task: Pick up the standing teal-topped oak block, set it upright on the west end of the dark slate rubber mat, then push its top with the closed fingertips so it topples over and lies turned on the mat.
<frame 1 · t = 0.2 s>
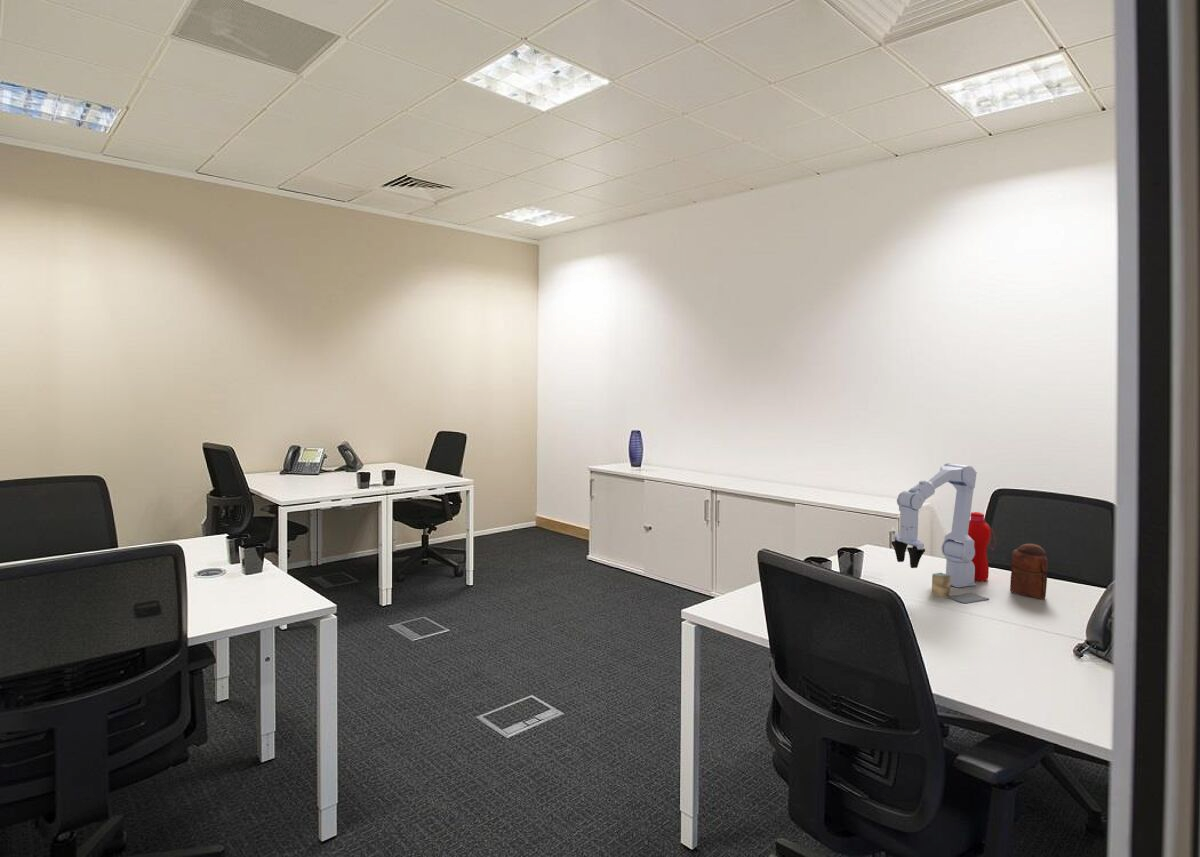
hand: (907, 564, 235), 10 cm above the table, fingers open, 7 cm apart
oak block: (940, 594, 234), on the table
water bottle: (976, 579, 254), on the table
slate mat: (967, 598, 230), on the table
brown upright rounded block: (1028, 595, 235), on the table
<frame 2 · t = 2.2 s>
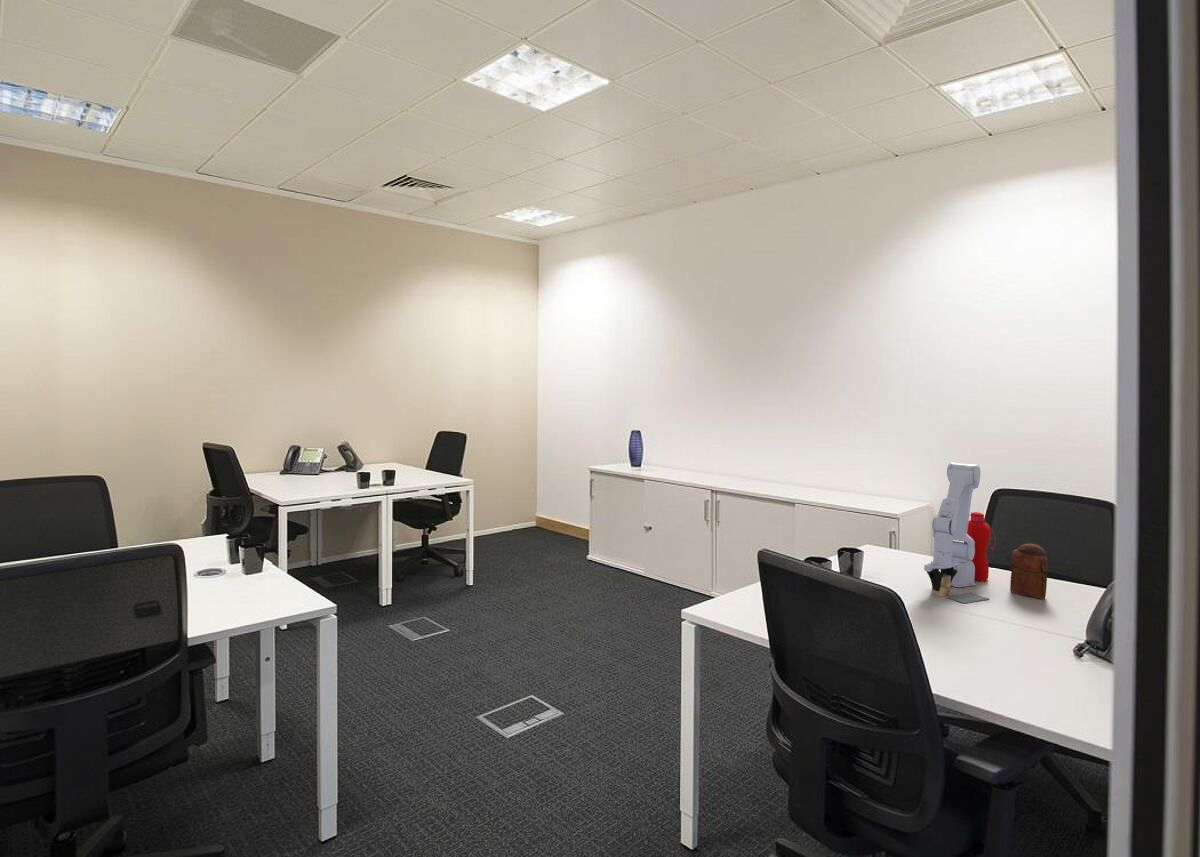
hand: (940, 589, 234), 2 cm above the table, fingers closed on oak block, 4 cm apart
oak block: (940, 594, 234), on the table, touching gripper
everything else where it was.
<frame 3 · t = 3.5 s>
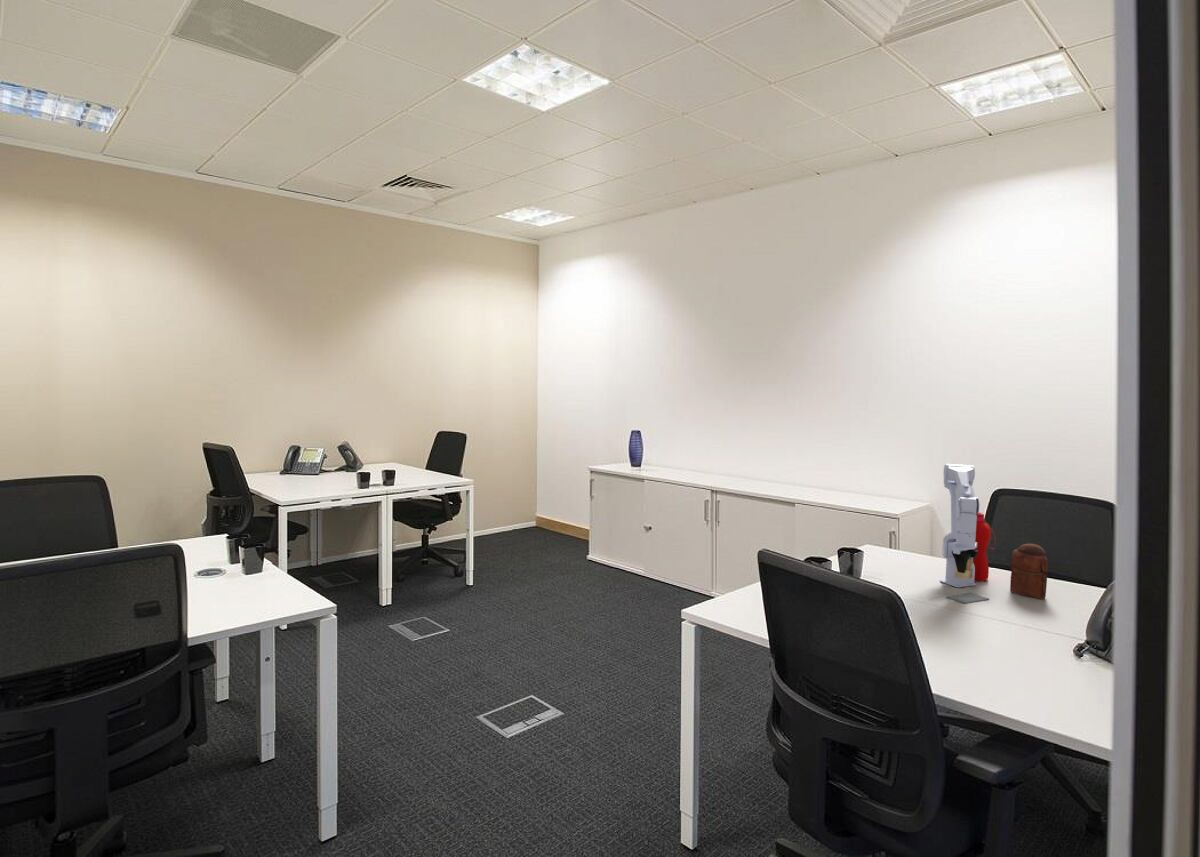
hand: (964, 571, 231), 9 cm above the table, fingers closed on oak block, 4 cm apart
oak block: (963, 577, 232), point 7 cm above the table, touching gripper
everything else where it was.
when the fingers open (3 cm above the table, at t = 5.2 s): oak block stays where it is, resting on slate mat.
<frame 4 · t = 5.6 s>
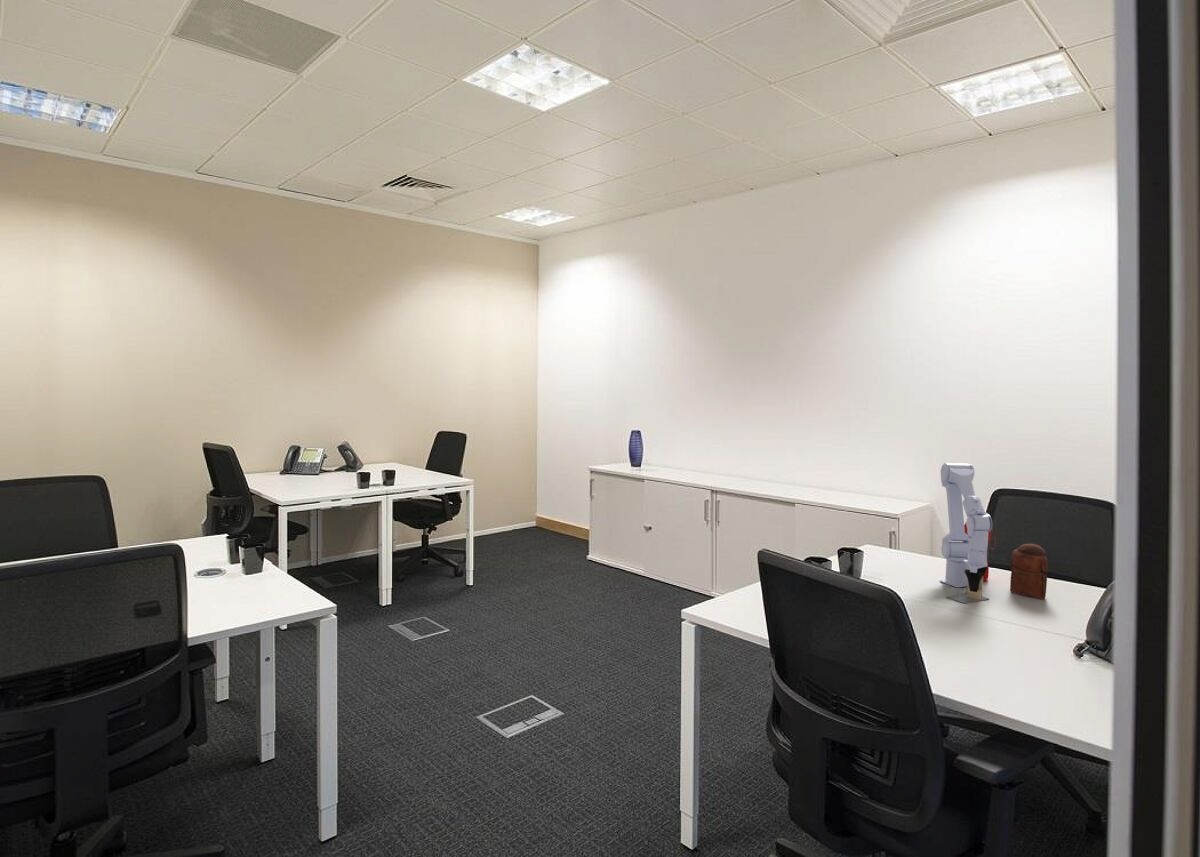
hand: (975, 588, 231), 3 cm above the table, fingers open, 7 cm apart
oak block: (974, 596, 231), resting on slate mat
everything else where it was.
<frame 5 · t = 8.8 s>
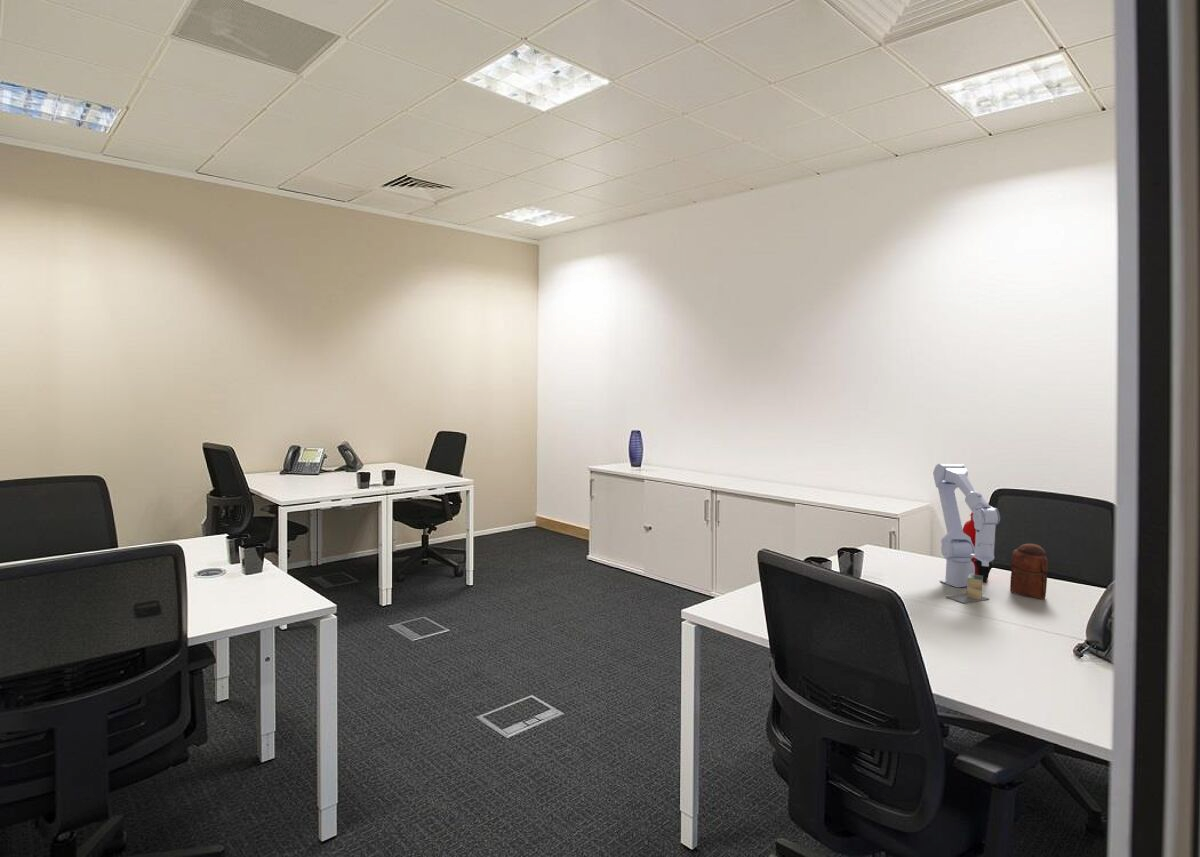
hand: (982, 582, 232), 5 cm above the table, fingers closed
oak block: (974, 596, 231), point 1 cm above the table, tilted 7°, touching slate mat
everything else where it was.
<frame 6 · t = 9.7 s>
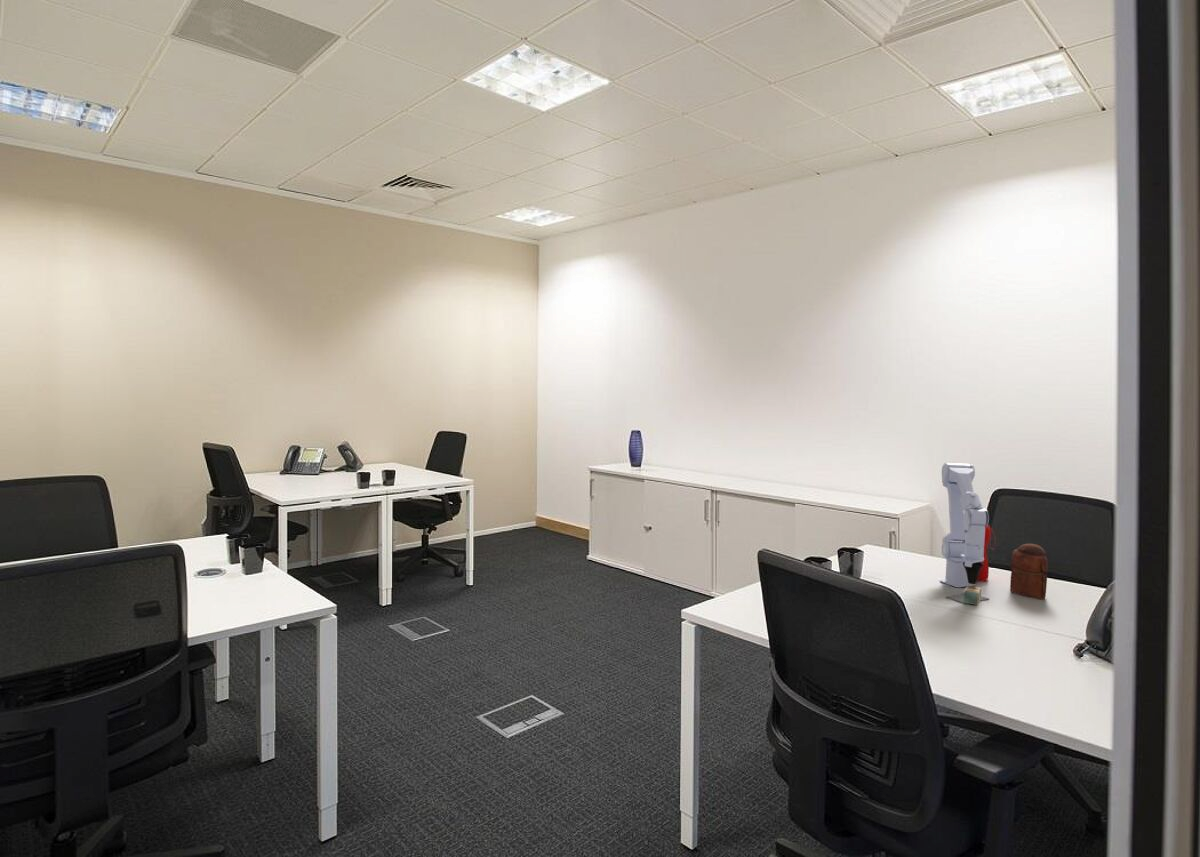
hand: (972, 583, 230), 5 cm above the table, fingers closed
oak block: (974, 592, 229), point 2 cm above the table, tilted 91°, touching slate mat
everything else where it was.
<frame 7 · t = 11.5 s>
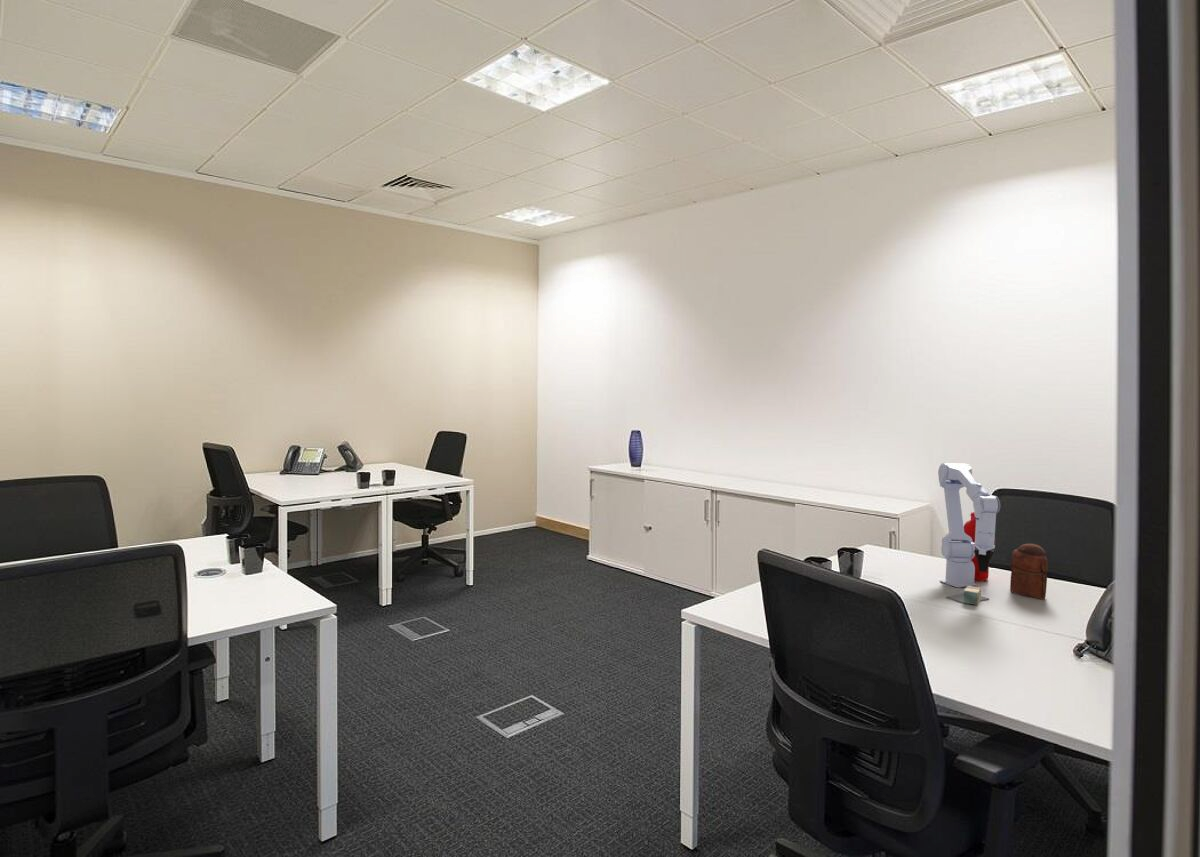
hand: (982, 571, 228), 10 cm above the table, fingers closed
nothing on the table moved.
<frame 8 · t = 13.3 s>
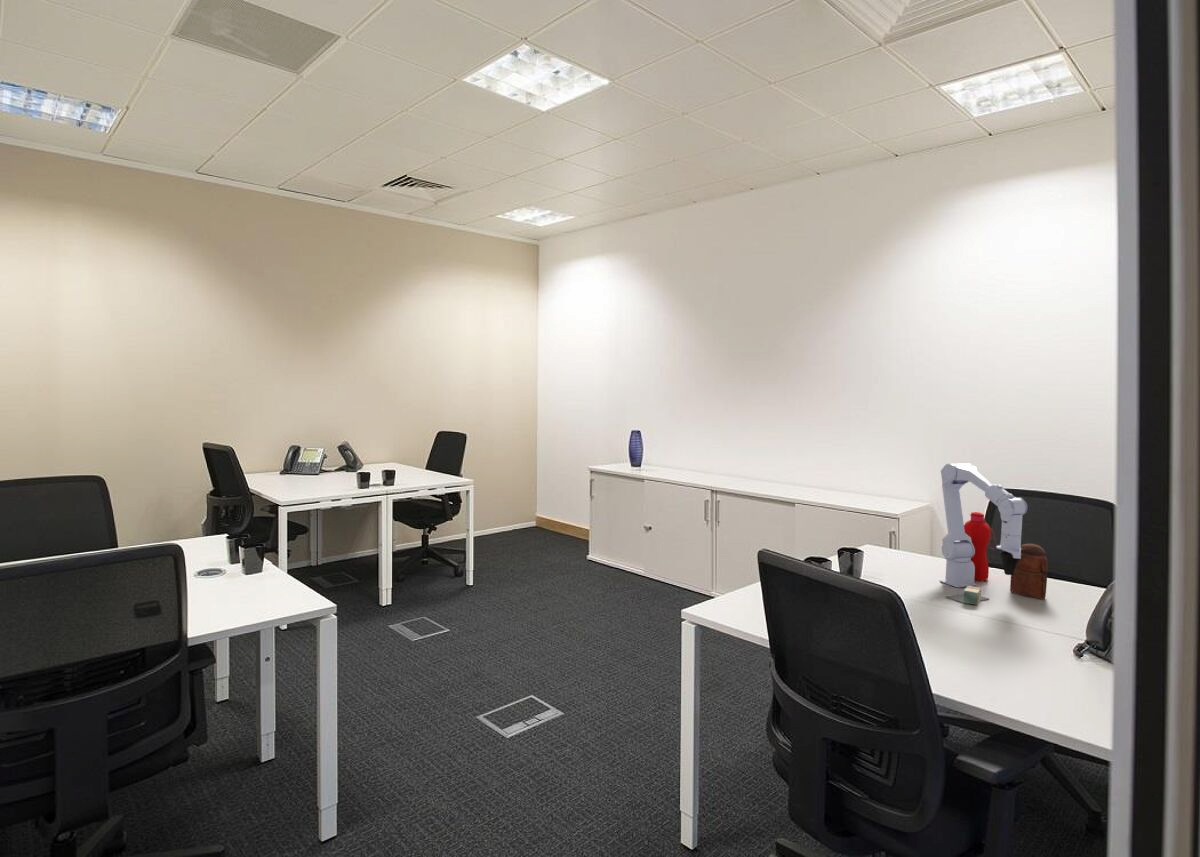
hand: (1008, 574, 225), 10 cm above the table, fingers closed
nothing on the table moved.
at the end: oak block tilted 90°; oak block inside the target area on the slate mat (2.2 cm from its centre), point 2.4 cm above the slate mat's base; the gripper is holding nothing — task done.
